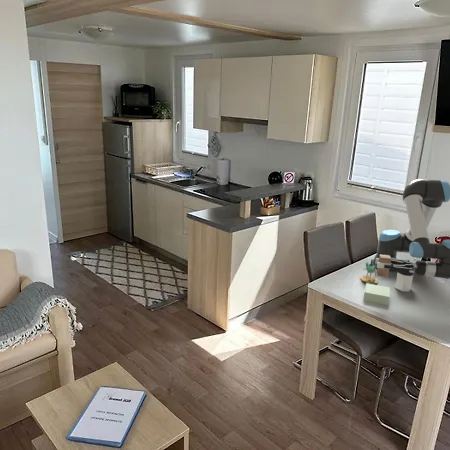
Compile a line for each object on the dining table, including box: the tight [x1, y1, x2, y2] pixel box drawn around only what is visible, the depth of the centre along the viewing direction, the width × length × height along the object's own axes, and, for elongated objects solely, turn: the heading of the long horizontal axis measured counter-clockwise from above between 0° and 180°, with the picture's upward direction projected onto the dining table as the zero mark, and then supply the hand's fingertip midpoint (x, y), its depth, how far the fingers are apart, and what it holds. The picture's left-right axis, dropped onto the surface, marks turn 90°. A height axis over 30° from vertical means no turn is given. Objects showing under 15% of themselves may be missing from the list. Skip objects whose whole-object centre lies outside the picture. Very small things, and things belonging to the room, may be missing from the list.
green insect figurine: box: [359, 258, 379, 285], centre depth 238 cm, size 10×18×15 cm, turn 163°
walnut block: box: [376, 254, 391, 278], centre depth 213 cm, size 5×5×10 cm
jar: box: [394, 272, 415, 292], centre depth 230 cm, size 9×8×12 cm
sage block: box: [363, 282, 391, 306], centre depth 219 cm, size 12×12×5 cm
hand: (376, 262), depth 214 cm, fingers closed on walnut block, 5 cm apart
